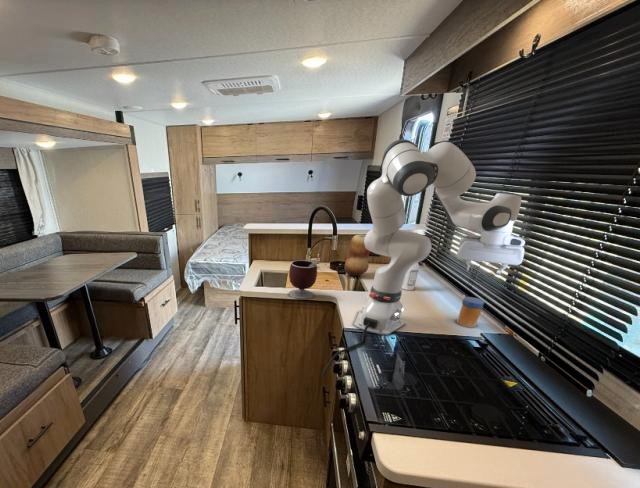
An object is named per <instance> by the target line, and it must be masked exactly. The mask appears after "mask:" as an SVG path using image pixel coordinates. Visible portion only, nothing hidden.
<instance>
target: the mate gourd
mask: <svg viewBox="0 0 640 488" xmlns="http://www.w3.org/2000/svg"><path fill="white" fill-rule="evenodd" d="M319 263H320V264H321V260H318V261H317V260H316V261H313V260H308V259H307V260H306V259H298V260H297V259H296V260H293V261H291V262H290V266H289V270H288V271H289V273H288V276H289V277H288V278H289V282H290V284H291V285H292V286H293V287H294V288H296V289H292V290H290V291H289V294H288V295H289V296H290V297H291V298H293V299H296V300H301V301H302V300H309V299H312V298H313V297H314V293H313V292H312V291H311V290H307V289H310V288H312V287H313V286H314V285H315V283H316V280H317V277H318V266H317V265H318V264H319Z"/></svg>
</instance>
